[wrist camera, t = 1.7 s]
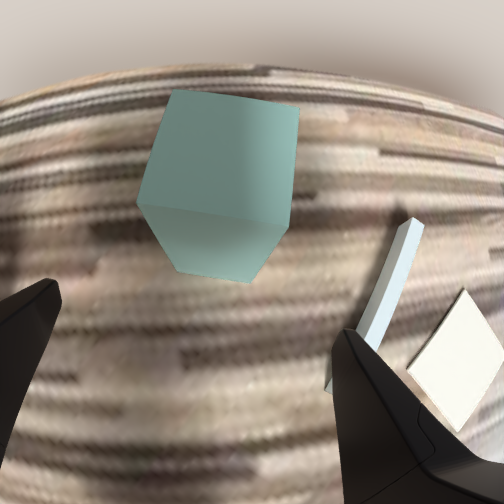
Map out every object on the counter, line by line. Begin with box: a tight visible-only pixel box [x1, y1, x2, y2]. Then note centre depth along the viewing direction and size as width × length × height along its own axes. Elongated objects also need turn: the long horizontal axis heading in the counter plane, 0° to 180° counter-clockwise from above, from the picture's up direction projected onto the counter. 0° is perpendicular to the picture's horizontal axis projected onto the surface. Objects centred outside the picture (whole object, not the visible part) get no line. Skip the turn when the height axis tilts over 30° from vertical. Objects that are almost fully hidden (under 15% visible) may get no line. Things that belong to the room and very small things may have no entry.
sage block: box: [136, 89, 300, 284], centre depth 17 cm, size 5×5×12 cm
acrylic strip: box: [325, 217, 424, 395], centre depth 21 cm, size 14×1×2 cm, turn 151°
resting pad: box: [407, 290, 504, 432], centre depth 22 cm, size 9×9×1 cm
